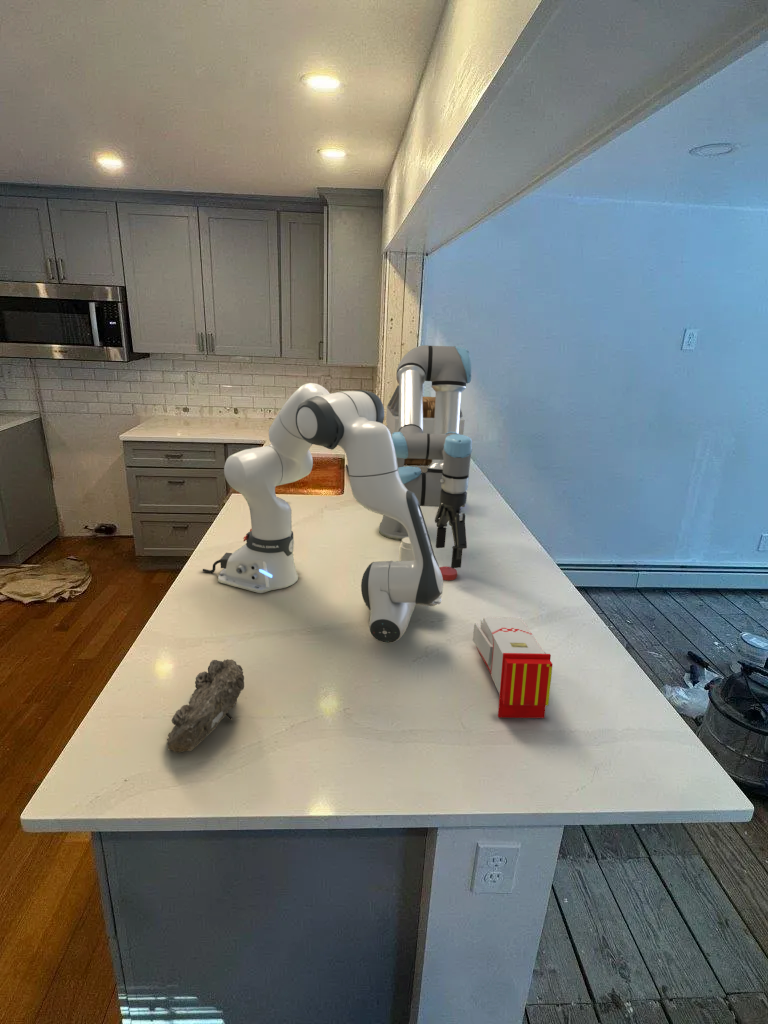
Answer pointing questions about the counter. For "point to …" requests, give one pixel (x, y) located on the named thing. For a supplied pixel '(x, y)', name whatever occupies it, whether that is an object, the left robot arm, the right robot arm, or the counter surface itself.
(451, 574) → the lid
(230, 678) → the fossil
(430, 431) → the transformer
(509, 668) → the toy
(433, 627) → the counter surface
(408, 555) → the jar
